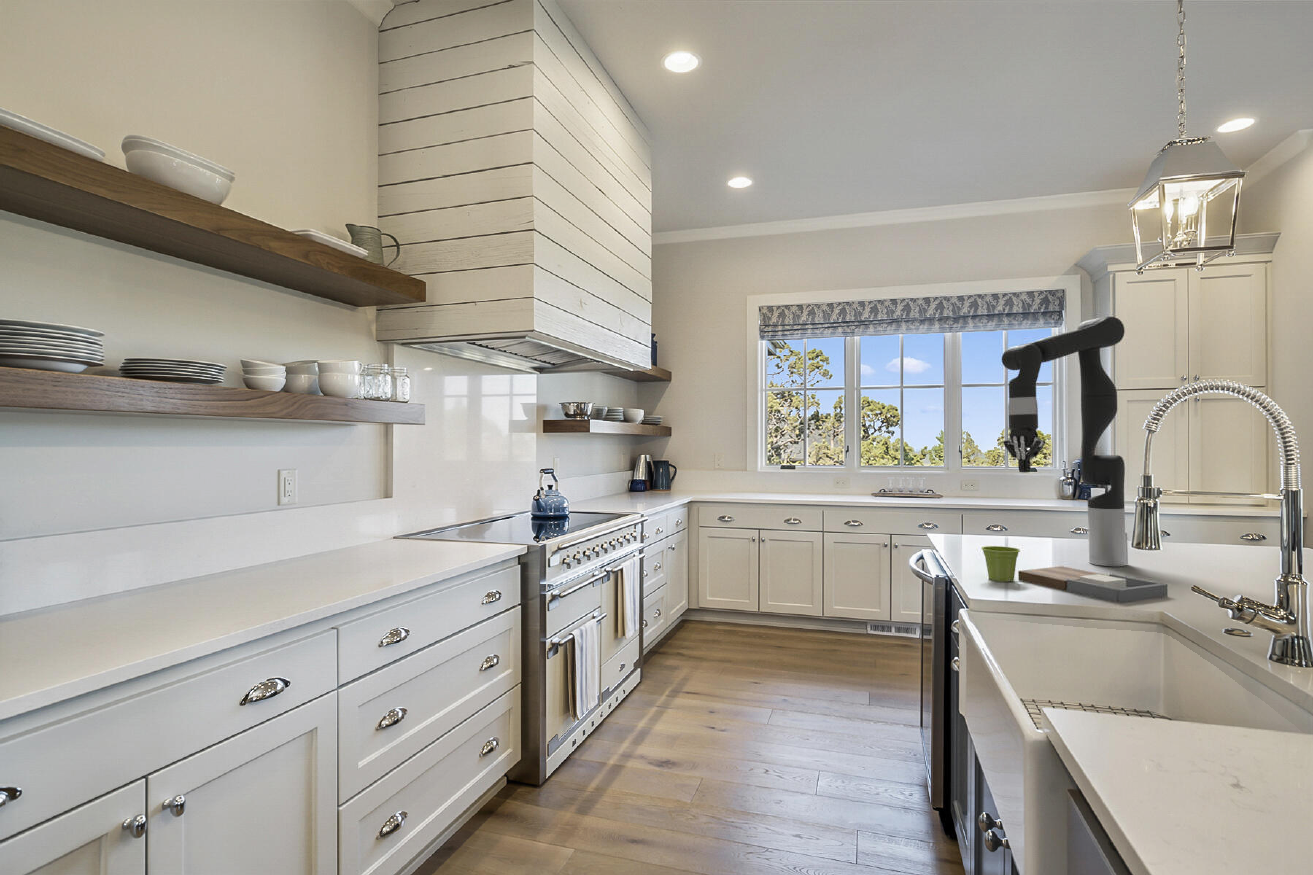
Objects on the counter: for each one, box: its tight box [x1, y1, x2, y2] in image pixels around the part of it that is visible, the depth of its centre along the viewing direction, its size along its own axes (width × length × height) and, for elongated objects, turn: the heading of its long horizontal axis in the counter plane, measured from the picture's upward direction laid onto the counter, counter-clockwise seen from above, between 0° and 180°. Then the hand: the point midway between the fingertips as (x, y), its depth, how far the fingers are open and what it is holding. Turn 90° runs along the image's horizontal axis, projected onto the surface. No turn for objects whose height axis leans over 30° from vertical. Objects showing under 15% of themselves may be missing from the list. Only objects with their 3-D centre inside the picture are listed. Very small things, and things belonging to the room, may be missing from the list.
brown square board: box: [1017, 565, 1110, 592], centre depth 174 cm, size 16×14×2 cm
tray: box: [1066, 573, 1169, 604], centre depth 160 cm, size 16×14×3 cm
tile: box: [1079, 573, 1126, 589], centre depth 163 cm, size 7×7×2 cm
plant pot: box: [981, 545, 1021, 583], centre depth 178 cm, size 9×9×9 cm
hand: (1024, 472), depth 189 cm, fingers closed
